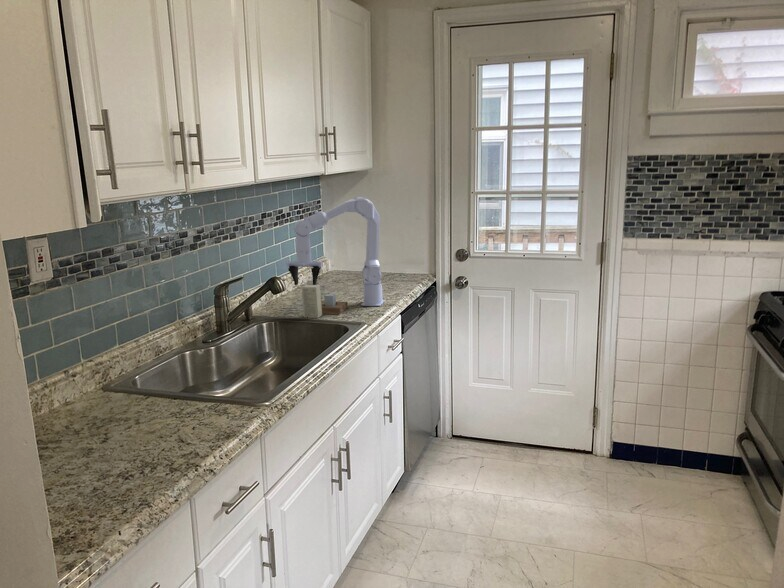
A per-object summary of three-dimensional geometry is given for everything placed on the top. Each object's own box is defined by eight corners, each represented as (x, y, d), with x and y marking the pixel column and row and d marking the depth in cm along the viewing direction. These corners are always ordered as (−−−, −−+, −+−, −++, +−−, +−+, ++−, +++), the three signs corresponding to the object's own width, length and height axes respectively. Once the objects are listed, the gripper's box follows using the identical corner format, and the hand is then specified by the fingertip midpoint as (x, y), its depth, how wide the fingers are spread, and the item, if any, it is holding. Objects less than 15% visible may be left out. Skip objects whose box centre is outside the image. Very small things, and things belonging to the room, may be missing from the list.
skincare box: (322, 315, 250) (320, 284, 247) (318, 318, 245) (316, 287, 243) (307, 314, 251) (305, 284, 249) (302, 317, 247) (301, 286, 245)
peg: (327, 308, 259) (327, 294, 258) (336, 308, 258) (335, 294, 257) (325, 310, 256) (324, 295, 254) (333, 310, 255) (332, 296, 254)
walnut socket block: (322, 307, 263) (321, 301, 263) (347, 307, 261) (347, 301, 260) (312, 313, 253) (312, 307, 252) (339, 314, 251) (339, 308, 250)
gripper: (282, 252, 252) (284, 286, 255) (317, 252, 249) (319, 287, 252) (289, 249, 259) (291, 282, 262) (323, 249, 255) (325, 283, 258)
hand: (305, 284), depth 257 cm, fingers open, 7 cm apart
